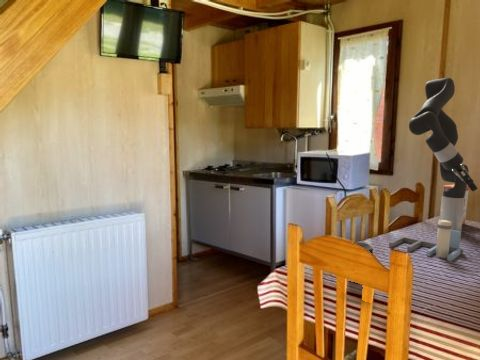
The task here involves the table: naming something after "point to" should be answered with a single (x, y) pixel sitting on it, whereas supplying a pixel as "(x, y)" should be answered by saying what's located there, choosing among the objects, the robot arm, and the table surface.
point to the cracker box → (464, 200)
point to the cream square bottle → (443, 238)
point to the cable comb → (433, 244)
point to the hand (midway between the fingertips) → (471, 186)
